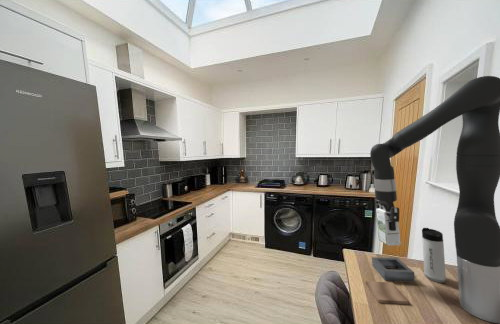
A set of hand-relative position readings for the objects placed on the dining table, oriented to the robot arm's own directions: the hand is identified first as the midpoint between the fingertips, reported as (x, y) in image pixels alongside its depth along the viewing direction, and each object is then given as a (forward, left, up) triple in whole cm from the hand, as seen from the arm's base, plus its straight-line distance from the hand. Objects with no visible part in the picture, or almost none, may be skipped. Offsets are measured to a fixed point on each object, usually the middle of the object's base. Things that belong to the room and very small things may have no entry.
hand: (388, 227), depth 78 cm
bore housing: (-1, -2, -21) cm, 22 cm away
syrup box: (0, 0, -7) cm, 7 cm away
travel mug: (-16, 0, -22) cm, 27 cm away
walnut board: (+8, +11, -21) cm, 25 cm away
